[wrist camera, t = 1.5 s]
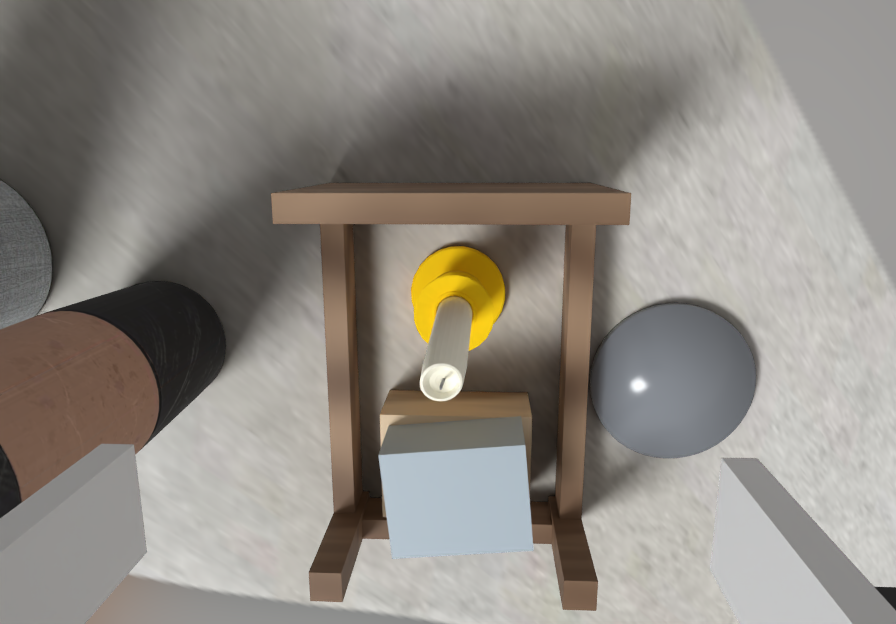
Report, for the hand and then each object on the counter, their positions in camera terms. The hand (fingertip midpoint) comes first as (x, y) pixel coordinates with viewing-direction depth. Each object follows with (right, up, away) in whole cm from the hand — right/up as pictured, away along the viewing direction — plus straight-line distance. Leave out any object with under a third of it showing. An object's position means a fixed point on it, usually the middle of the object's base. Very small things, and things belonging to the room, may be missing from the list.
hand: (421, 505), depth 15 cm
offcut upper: (+1, -4, +20) cm, 21 cm away
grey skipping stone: (+13, 0, +22) cm, 26 cm away
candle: (+1, +5, +22) cm, 23 cm away
